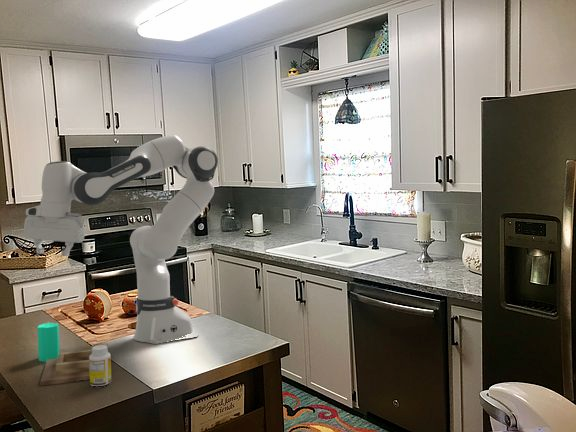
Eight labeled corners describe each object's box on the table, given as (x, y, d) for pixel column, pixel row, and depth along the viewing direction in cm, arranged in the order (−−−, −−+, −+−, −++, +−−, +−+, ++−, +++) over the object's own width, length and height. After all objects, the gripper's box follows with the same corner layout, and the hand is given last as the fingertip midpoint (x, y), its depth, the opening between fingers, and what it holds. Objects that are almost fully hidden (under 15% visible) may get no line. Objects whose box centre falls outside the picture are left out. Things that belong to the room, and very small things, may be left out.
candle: (51, 362, 158) (50, 323, 157) (34, 360, 159) (32, 322, 158) (63, 355, 164) (62, 318, 163) (46, 354, 165) (45, 317, 164)
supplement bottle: (104, 378, 145) (103, 342, 144) (115, 383, 141) (114, 346, 141) (85, 384, 141) (84, 347, 140) (96, 389, 137) (95, 351, 136)
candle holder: (110, 356, 163) (110, 344, 162) (111, 377, 146) (110, 363, 146) (47, 363, 157) (47, 350, 156) (40, 385, 140) (40, 371, 140)
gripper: (90, 213, 166) (87, 256, 166) (35, 209, 171) (33, 251, 171) (77, 213, 160) (74, 258, 160) (21, 209, 165) (18, 252, 165)
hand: (52, 254), depth 165 cm, fingers open, 8 cm apart
